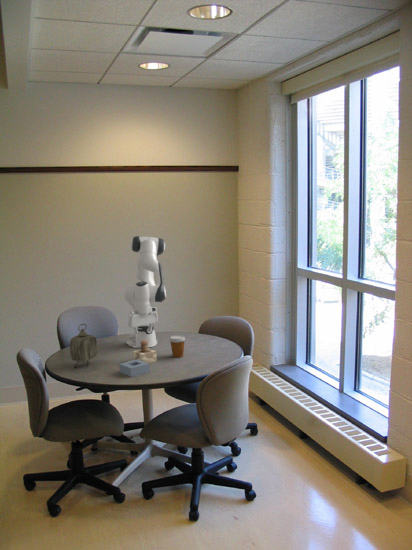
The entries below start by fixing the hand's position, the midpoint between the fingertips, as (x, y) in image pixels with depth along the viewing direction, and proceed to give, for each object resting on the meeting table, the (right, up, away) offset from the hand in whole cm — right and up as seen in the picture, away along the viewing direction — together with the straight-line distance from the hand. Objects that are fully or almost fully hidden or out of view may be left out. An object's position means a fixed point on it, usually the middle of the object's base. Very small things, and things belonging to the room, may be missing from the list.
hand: (143, 332), depth 333 cm
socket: (-3, -20, -18) cm, 27 cm away
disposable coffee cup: (+20, -16, +11) cm, 27 cm away
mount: (+1, -17, +3) cm, 18 cm away
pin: (+1, -17, +3) cm, 18 cm away
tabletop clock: (-34, -19, -2) cm, 39 cm away
